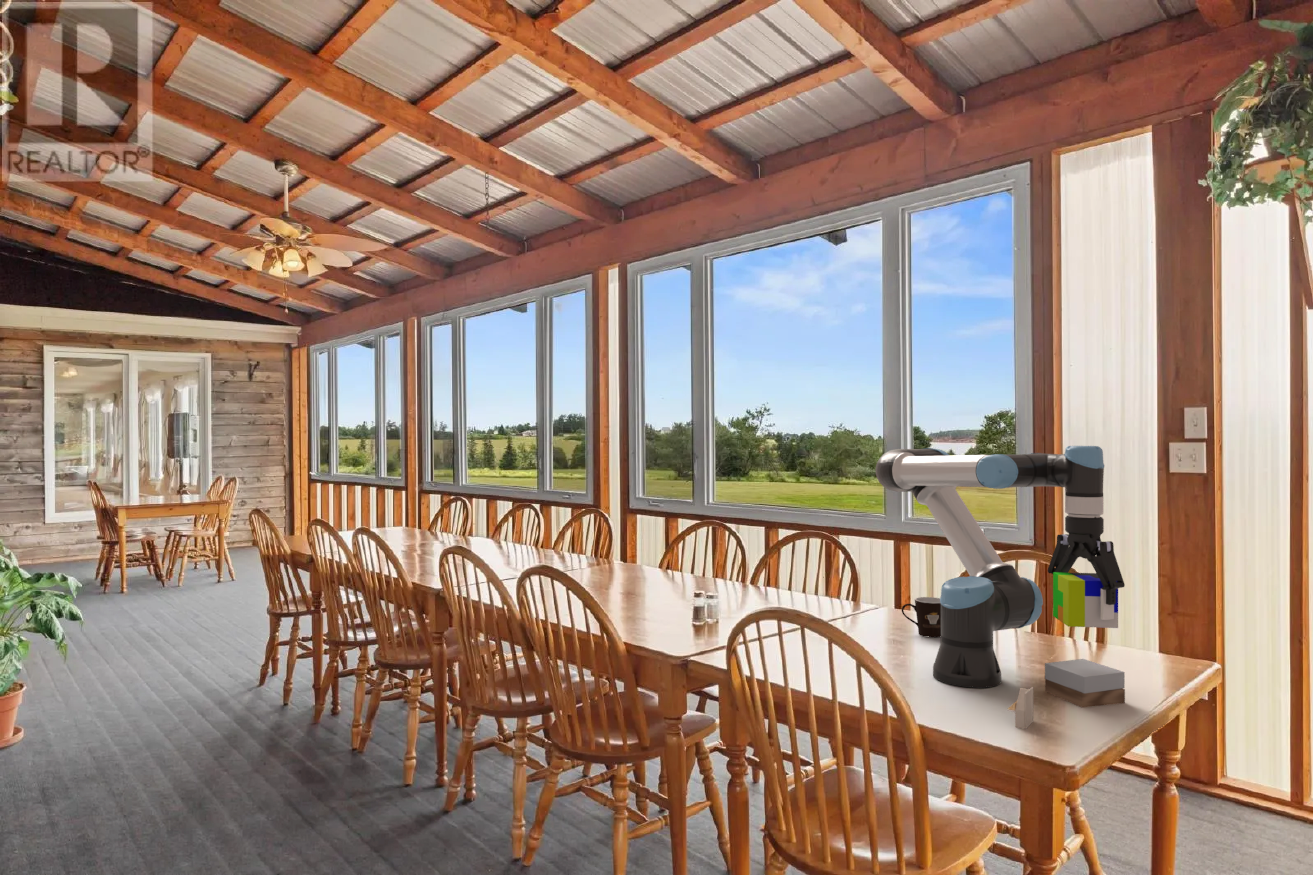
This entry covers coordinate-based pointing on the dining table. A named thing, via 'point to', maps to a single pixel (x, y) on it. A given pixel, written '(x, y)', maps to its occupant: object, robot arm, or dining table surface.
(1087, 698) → the walnut block
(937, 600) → the coffee mug
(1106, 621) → the puzzle toy
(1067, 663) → the slate-grey block
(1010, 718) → the dining table surface
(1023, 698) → the architectural model
